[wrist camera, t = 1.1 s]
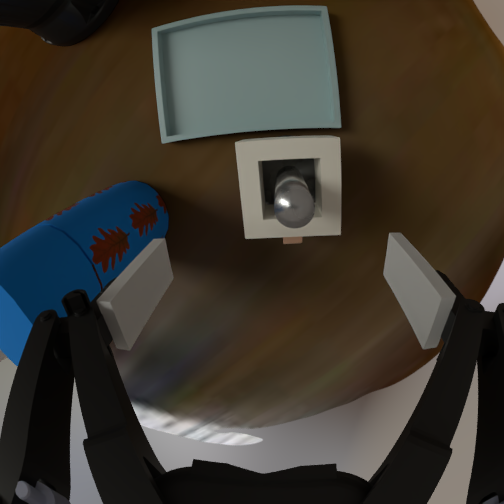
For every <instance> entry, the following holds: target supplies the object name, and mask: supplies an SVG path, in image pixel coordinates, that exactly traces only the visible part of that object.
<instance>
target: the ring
mask: <svg viewBox="0 0 504 504" xmlns="http://www.w3.org/2000/svg"><path fill="white" fill-rule="evenodd" d="M235 148H236V157H237V167H238V176H239V185H240V195H241V204H242V213H243V223H244V232H245V239H257V238H278V237H283V244H293V243H302V236H324V235H341V149H340V137H335V136H330V135H327V136H289V137H271V138H257V139H246V140H240V141H238V142H235ZM305 158H314V170H315V200H316V203H315V214H314V216H313V218H312V220H311V221H310V222H309V223H308V224H307V225H305V226H303V227H301V228H288V227H286V226H284V225H282V224H281V223H280V222H279V221H278V220H277V218H276V216H275V213H274V204H271V205H265V192H264V180H263V169H262V161H265V160H282V159H305Z"/></svg>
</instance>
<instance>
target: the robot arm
mask: <svg viewBox="0 0 504 504" xmlns="http://www.w3.org/2000/svg"><path fill="white" fill-rule="evenodd" d="M117 2H118V0H0V26H9V27H18V28H25V29H30V30H31V31H32V32H34V33H35V34H37V35H39V36H41V38H42V39H43V40H44V41H45V42H47V43H49V44H52V45H57V46H70V45H73V44H76V43H78V42H80V41H82V40H83V39H85V38H86V37H88V36H89V35H90V34H92V33H93V32H94V31H95V30H96V29H97V28H98V27H99V26H100V25H101V24H102V23H103V22H104V21H105V20H106V19H107V17H108V16H109V15H110V13H111V12H112V10H113V9H114V7H115V6H116V4H117ZM383 275H384V277H385V279H386V280H387V282H388V284H389V286H390V287H391V289H392V291H393V293H394V294H395V296H396V298H397V300H398V302H399V303H400V305H401V307H402V309H403V311H404V313H405V315H406V317H407V318H408V320H409V322H410V324H411V326H412V328H413V330H414V332H415V334H416V336H417V338H418V340H419V342H420V344H421V346H422V348H423V349H428V348H434V347H437V345H438V343H439V340H440V338H441V337H442V339H443V341H444V345H443V347H442V349H441V351H440V354H439V356H438V358H437V362H436V365H435V367H434V370H433V372H432V374H431V377H430V379H429V381H428V383H427V385H426V388H425V390H424V392H423V394H422V396H421V398H420V400H419V402H418V404H417V406H416V408H415V410H414V412H413V414H412V416H411V417H410V419H409V421H408V423H407V425H406V426H405V428H404V430H403V432H402V434H401V435H400V437H399V438H398V440H397V442H396V443H395V445H394V447H393V448H392V450H391V451H390V453H389V455H388V456H387V457H386V459H385V460H384V462H383V463H382V465H381V466H380V468H379V469H378V470H377V471H376V473H375V474H374V475H373V476H372V478H371V479H370V480H369V481H368V482H367V481H366V480H364V479H362V478H360V477H358V476H356V475H353V474H350V473H346V472H340V471H337V469H336V464H325V465H310V466H299V467H294V468H290V469H286V470H281V471H277V472H271V473H266V474H261V473H257V472H254V471H250V470H247V469H243V468H240V467H236V466H233V465H230V464H227V463H218V462H209V461H202V460H195V459H194V460H193V464H192V467H184V468H178V469H175V470H171V471H169V472H166V471H165V470H164V468H163V467H162V465H161V464H160V463H159V461H158V459H157V457H156V456H155V454H154V452H153V450H152V448H151V446H150V444H149V442H148V440H147V438H146V436H145V434H144V431H143V429H142V427H141V425H140V423H139V421H138V418H137V416H136V414H135V411H134V409H133V407H132V404H131V402H130V400H129V397H128V395H127V392H126V390H125V387H124V384H123V382H122V379H121V376H120V373H119V371H118V368H117V365H116V362H115V359H114V356H113V353H112V350H111V348H110V346H109V344H110V343H111V341H112V340H113V341H114V343H115V346H116V348H117V349H122V350H129V351H130V350H131V348H132V347H133V345H134V343H135V341H136V340H137V338H138V336H139V334H140V333H141V331H142V329H143V328H144V326H145V324H146V323H147V321H148V319H149V318H150V316H151V314H152V313H153V311H154V309H155V308H156V306H157V304H158V303H159V301H160V299H161V298H162V296H163V294H164V293H165V291H166V290H167V288H168V286H169V285H170V283H171V282H172V280H173V274H172V269H171V265H170V260H169V255H168V250H167V245H166V240H165V238H160V239H153V240H152V241H151V242H150V243H149V244H148V245H147V246H146V247H145V248H144V249H143V250H142V251H141V253H140V254H139V255H138V256H137V257H136V258H135V259H134V260H133V261H132V262H131V263H130V264H129V265H128V266H127V267H126V268H125V270H124V271H123V272H122V273H121V274H120V275H119V276H118V277H116V278H114V279H113V280H111V281H110V282H108V284H107V285H106V286H105V287H104V288H103V289H102V290H101V291H100V293H98V295H97V296H96V297H95V298H94V299H93V300H92V301H91V302H90V300H89V298H88V295H87V293H86V291H85V290H83V289H77V290H73V291H71V292H69V293H67V294H66V295H65V296H64V297H63V298H62V300H61V302H62V305H63V307H64V309H65V311H66V313H67V316H68V317H61V318H59V317H58V314H57V312H56V311H55V310H53V309H50V310H45V311H43V312H41V313H40V314H39V315H38V316H37V317H36V319H35V321H34V324H33V326H32V329H31V331H30V334H29V336H28V339H27V341H26V344H25V347H24V350H23V352H22V355H21V358H20V361H19V364H18V367H17V370H16V374H15V377H14V380H13V384H12V387H11V391H10V395H9V399H8V403H7V407H6V411H5V417H4V421H3V426H2V432H1V438H0V504H70V502H69V499H70V488H71V486H70V422H71V407H72V395H73V385H74V377H75V382H76V387H77V392H78V398H79V402H80V407H81V412H82V416H83V420H84V424H85V428H86V432H87V435H88V439H84V441H83V445H84V450H85V454H86V457H87V460H88V464H89V467H90V470H91V473H92V476H93V478H94V481H95V484H96V487H97V489H98V492H99V494H100V497H101V499H102V502H103V504H427V502H428V501H429V499H430V497H431V495H432V493H433V492H434V490H435V488H436V486H437V484H438V482H439V480H440V479H441V477H442V475H443V472H444V470H445V468H446V466H447V464H448V462H449V459H450V457H451V454H452V449H451V448H450V444H451V441H452V439H453V436H454V434H455V431H456V429H457V426H458V423H459V420H460V418H461V415H462V412H463V409H464V406H465V403H466V399H467V396H468V393H469V389H470V386H471V382H472V378H473V374H474V370H475V366H476V362H477V365H478V422H477V435H476V445H475V454H474V461H473V467H472V473H471V479H470V484H469V489H468V495H467V501H466V504H504V303H501V304H499V305H498V306H497V309H496V311H495V312H488V311H485V310H484V307H483V306H482V305H481V304H480V303H479V302H477V301H475V300H471V299H465V298H464V296H463V295H462V294H461V293H460V292H459V290H458V289H457V288H456V287H454V284H453V283H452V282H450V280H449V278H448V277H447V276H446V275H445V274H443V273H442V272H440V271H438V270H436V271H435V270H434V269H433V268H432V266H431V265H430V264H429V263H428V262H427V261H426V260H425V259H424V257H423V256H422V255H421V254H420V253H419V252H418V251H417V250H416V249H415V247H414V246H413V245H412V244H411V243H410V242H409V241H408V240H407V239H406V238H405V237H404V236H403V235H402V234H401V233H389V238H388V245H387V253H386V259H385V266H384V272H383Z"/></svg>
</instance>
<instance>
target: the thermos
mask: <svg viewBox="0 0 504 504" xmlns="http://www.w3.org/2000/svg"><path fill="white" fill-rule="evenodd" d="M168 220H169V216H168V212H167V209H166V205H165V203H164V201H163V200H162V198H161V197H160V195H159V194H158V192H157V191H155V190H154V189H153V188H151V187H150V186H149V185H147V184H145V183H142V182H139V181H126V182H122V183H119V184H116V185H113V186H110V187H108V188H106V189H104V190H101V191H99V192H97V193H95V194H93V195H91V196H89V197H87V198H85V199H83V200H81V201H79V202H77V203H75V204H73V205H72V206H70V207H68V208H66V209H64V210H62V211H60V212H58V213H57V214H55V215H53V216H51V217H50V218H48V219H46V220H44V221H43V222H41V223H39V224H37V225H36V226H34V227H32V228H31V229H29V230H27V231H26V232H24V233H23V234H21V235H19V236H18V237H16V238H15V239H13V240H12V241H10V242H8V243H7V244H5V245H4V246H2V247H1V248H0V350H1V351H2V352H3V353H4V354H5V355H6V356H7V357H8V358H9V359H10V360H11V361H12V362H13V363H14V364H15V365H16V366H18V364H19V361H20V358H21V355H22V352H23V350H24V347H25V344H26V341H27V339H28V336H29V334H30V331H31V329H32V326H33V324H34V321H35V319H36V317H37V316H38V315H39V314H40V313H41V312H43V311H45V310H50V309H53V310H55V311H56V312H57V314H58V317H59V318H61V317H68V316H67V313H66V311H65V309H64V307H63V305H62V302H61V300H62V298H63V297H64V296H65V295H66V294H67V293H69V292H71V291H73V290H77V289H83V290H85V291H86V293H87V295H88V298H89V300H90V302H91V301H92V300H93V299H94V298H95V297H96V296H97V295H98V293H100V291H101V290H102V289H103V288H104V287H105V286H106V285H107V284H108V282H110V281H111V280H113V279H114V278H116V277H118V276H119V275H120V274H121V273H122V272H123V271H124V270H125V268H126V267H127V266H128V265H129V264H130V263H131V262H132V261H133V260H134V259H135V258H136V257H137V256H138V255H139V254H140V253H141V251H142V250H143V249H144V248H145V247H146V246H147V245H148V244H149V243H150V242H151V241H152V240H153V239H160V238H165V235H166V233H167V230H168Z"/></svg>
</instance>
